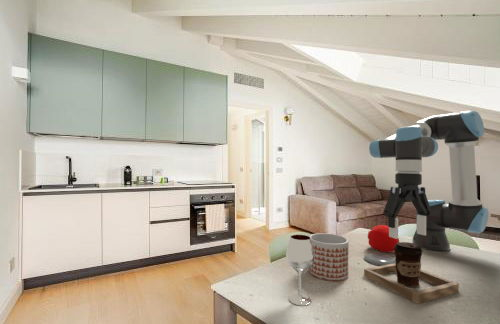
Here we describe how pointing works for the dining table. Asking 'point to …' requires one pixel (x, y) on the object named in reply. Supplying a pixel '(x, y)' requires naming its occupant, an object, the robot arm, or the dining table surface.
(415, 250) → the coffee cup
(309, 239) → the wineglass
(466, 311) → the dining table surface
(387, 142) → the robot arm
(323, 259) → the planter
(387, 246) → the tomato
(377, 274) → the square wooden frame
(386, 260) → the flat grey disc
